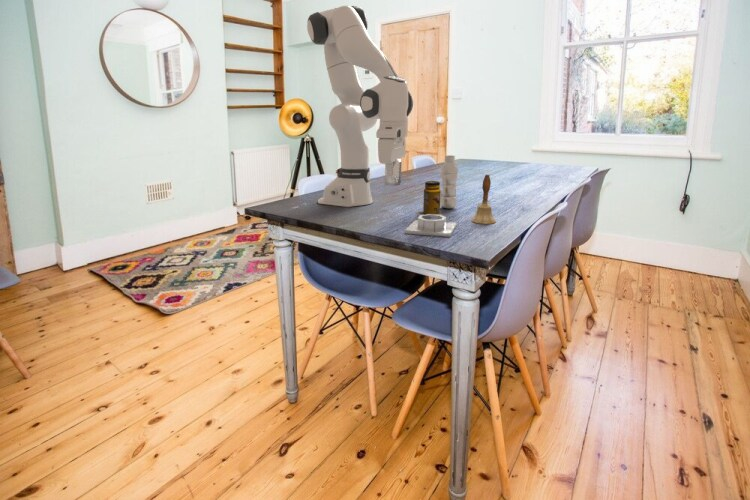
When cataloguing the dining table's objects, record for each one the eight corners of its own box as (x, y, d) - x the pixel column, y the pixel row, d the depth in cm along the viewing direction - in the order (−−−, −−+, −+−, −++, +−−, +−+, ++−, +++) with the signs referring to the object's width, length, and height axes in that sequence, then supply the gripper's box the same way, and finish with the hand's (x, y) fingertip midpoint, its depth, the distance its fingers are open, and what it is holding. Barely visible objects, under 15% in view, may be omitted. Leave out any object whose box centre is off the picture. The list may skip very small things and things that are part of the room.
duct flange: (405, 233, 143) (405, 220, 142) (415, 222, 155) (415, 211, 154) (450, 236, 139) (450, 224, 137) (456, 225, 151) (457, 214, 150)
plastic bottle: (456, 210, 173) (459, 157, 167) (438, 209, 175) (440, 156, 169) (456, 206, 179) (459, 155, 173) (439, 206, 181) (441, 154, 175)
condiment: (443, 216, 165) (444, 182, 162) (421, 217, 163) (422, 183, 160) (436, 211, 172) (437, 179, 168) (414, 212, 170) (415, 180, 166)
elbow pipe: (383, 185, 148) (383, 160, 146) (387, 182, 153) (387, 158, 150) (398, 186, 147) (399, 160, 144) (402, 183, 151) (402, 159, 149)
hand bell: (478, 217, 163) (481, 172, 158) (499, 220, 158) (503, 174, 153) (466, 221, 157) (469, 175, 152) (489, 225, 152) (492, 177, 147)
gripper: (392, 128, 155) (391, 169, 159) (374, 132, 136) (374, 178, 141) (410, 129, 153) (409, 170, 157) (394, 133, 135) (393, 179, 139)
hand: (392, 174), depth 149 cm, fingers closed on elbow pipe, 5 cm apart
